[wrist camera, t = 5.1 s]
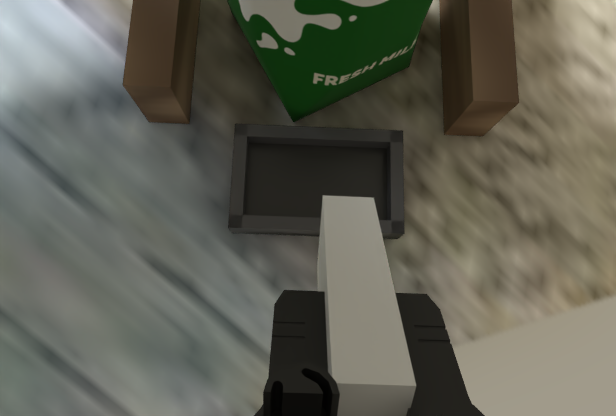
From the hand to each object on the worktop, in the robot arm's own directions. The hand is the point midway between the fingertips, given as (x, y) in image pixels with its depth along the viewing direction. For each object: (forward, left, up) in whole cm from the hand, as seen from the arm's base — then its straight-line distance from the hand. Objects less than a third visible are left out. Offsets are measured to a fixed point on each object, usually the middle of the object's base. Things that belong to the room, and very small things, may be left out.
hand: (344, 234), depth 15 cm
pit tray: (0, +4, -9) cm, 9 cm away
